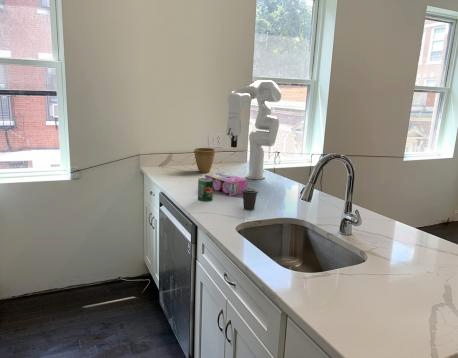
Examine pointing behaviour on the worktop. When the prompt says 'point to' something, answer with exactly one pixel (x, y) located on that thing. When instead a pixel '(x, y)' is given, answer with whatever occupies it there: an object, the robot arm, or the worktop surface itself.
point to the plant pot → (204, 159)
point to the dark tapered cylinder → (249, 198)
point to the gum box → (228, 183)
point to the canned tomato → (205, 189)
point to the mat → (231, 195)
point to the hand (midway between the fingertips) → (233, 147)
